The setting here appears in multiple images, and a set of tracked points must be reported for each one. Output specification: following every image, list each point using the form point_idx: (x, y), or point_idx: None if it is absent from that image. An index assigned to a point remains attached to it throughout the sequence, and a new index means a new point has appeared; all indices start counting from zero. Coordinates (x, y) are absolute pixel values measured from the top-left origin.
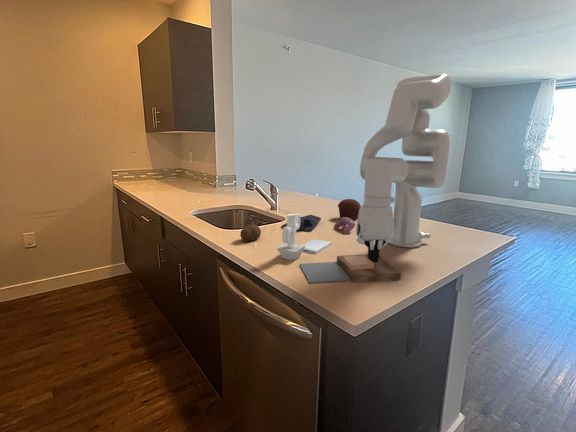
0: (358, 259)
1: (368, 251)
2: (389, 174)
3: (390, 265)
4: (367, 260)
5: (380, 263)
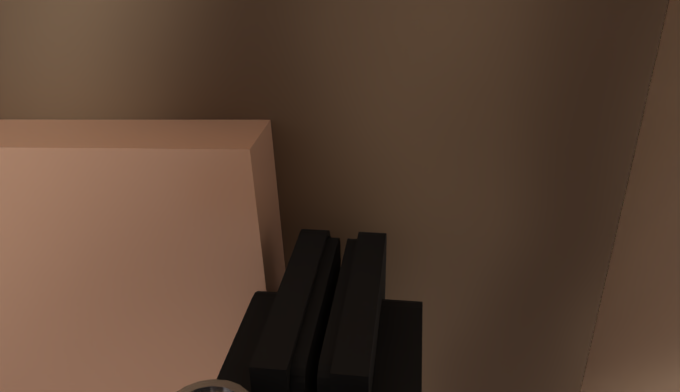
0: (105, 291)
1: (228, 372)
2: None
3: (556, 376)
4: (228, 349)
5: (458, 292)
